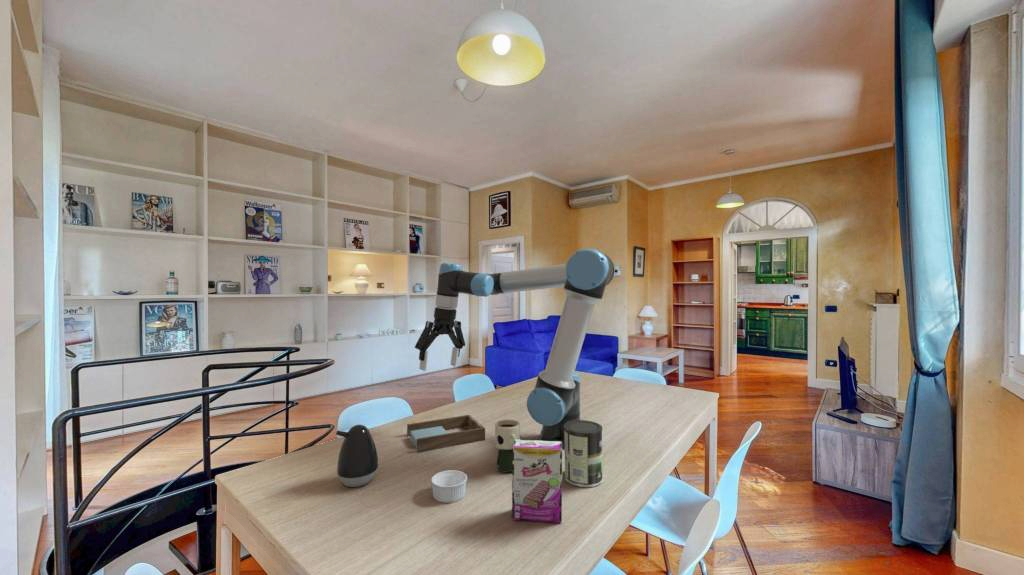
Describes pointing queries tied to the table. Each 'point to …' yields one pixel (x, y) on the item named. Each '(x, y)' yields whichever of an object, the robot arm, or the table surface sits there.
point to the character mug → (506, 442)
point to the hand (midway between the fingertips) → (438, 367)
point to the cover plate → (426, 433)
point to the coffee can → (583, 453)
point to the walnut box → (451, 438)
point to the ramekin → (449, 486)
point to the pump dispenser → (357, 457)
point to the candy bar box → (537, 481)
